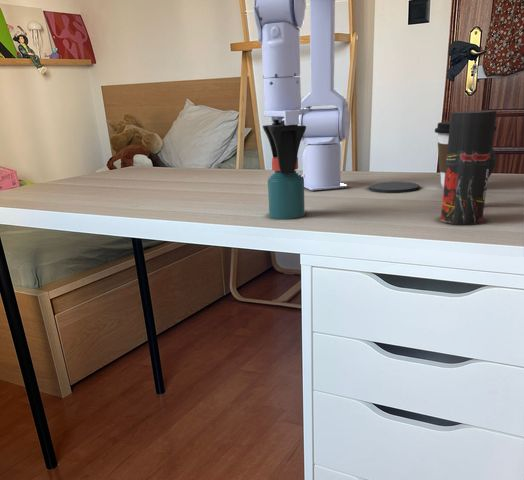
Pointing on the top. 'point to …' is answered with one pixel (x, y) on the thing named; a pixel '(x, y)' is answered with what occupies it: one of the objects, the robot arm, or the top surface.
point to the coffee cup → (443, 146)
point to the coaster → (393, 187)
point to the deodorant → (467, 166)
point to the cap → (276, 165)
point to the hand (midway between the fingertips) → (284, 171)
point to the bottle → (286, 195)
